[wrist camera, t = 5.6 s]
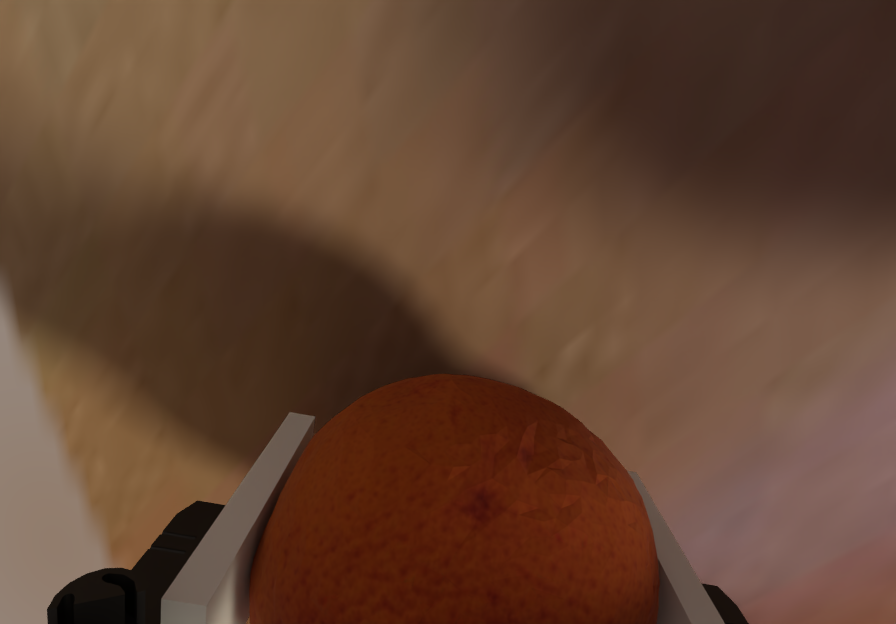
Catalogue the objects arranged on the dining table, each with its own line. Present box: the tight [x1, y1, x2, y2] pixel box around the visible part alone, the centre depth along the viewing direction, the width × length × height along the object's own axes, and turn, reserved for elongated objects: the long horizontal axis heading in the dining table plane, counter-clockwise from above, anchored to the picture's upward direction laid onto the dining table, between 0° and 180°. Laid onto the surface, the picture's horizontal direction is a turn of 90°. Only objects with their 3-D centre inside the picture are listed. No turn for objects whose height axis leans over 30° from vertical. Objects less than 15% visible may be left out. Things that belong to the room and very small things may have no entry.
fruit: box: [249, 374, 660, 624], centre depth 11 cm, size 9×9×8 cm
